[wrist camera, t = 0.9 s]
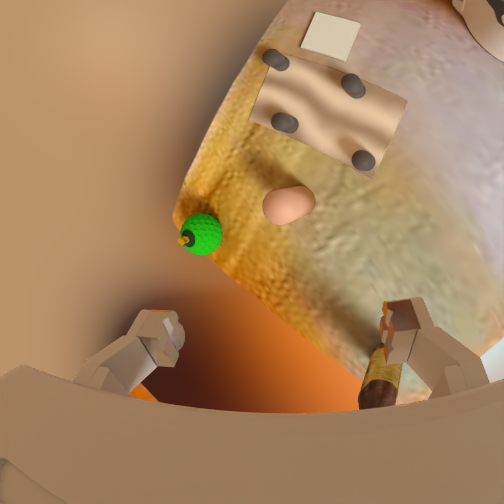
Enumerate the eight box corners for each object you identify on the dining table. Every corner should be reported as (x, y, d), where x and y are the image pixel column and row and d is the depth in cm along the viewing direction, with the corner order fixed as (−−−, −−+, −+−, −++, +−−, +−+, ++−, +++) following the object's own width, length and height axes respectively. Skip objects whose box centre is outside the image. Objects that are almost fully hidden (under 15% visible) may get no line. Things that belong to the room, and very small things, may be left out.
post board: (277, 53, 42) (265, 44, 39) (407, 101, 35) (407, 94, 31) (250, 119, 49) (235, 116, 45) (372, 178, 41) (368, 179, 37)
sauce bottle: (368, 344, 48) (337, 421, 32) (400, 338, 45) (383, 419, 28) (375, 372, 48) (347, 450, 32) (406, 367, 45) (389, 449, 29)
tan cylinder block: (294, 180, 48) (270, 183, 40) (320, 194, 46) (300, 200, 39) (283, 206, 50) (257, 214, 43) (307, 220, 48) (285, 231, 41)
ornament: (194, 216, 61) (160, 225, 53) (223, 205, 56) (188, 213, 48) (206, 252, 62) (173, 266, 54) (235, 244, 57) (203, 259, 49)
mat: (317, 13, 36) (316, 12, 35) (360, 25, 33) (359, 23, 33) (302, 48, 40) (300, 47, 39) (345, 62, 37) (343, 60, 36)
